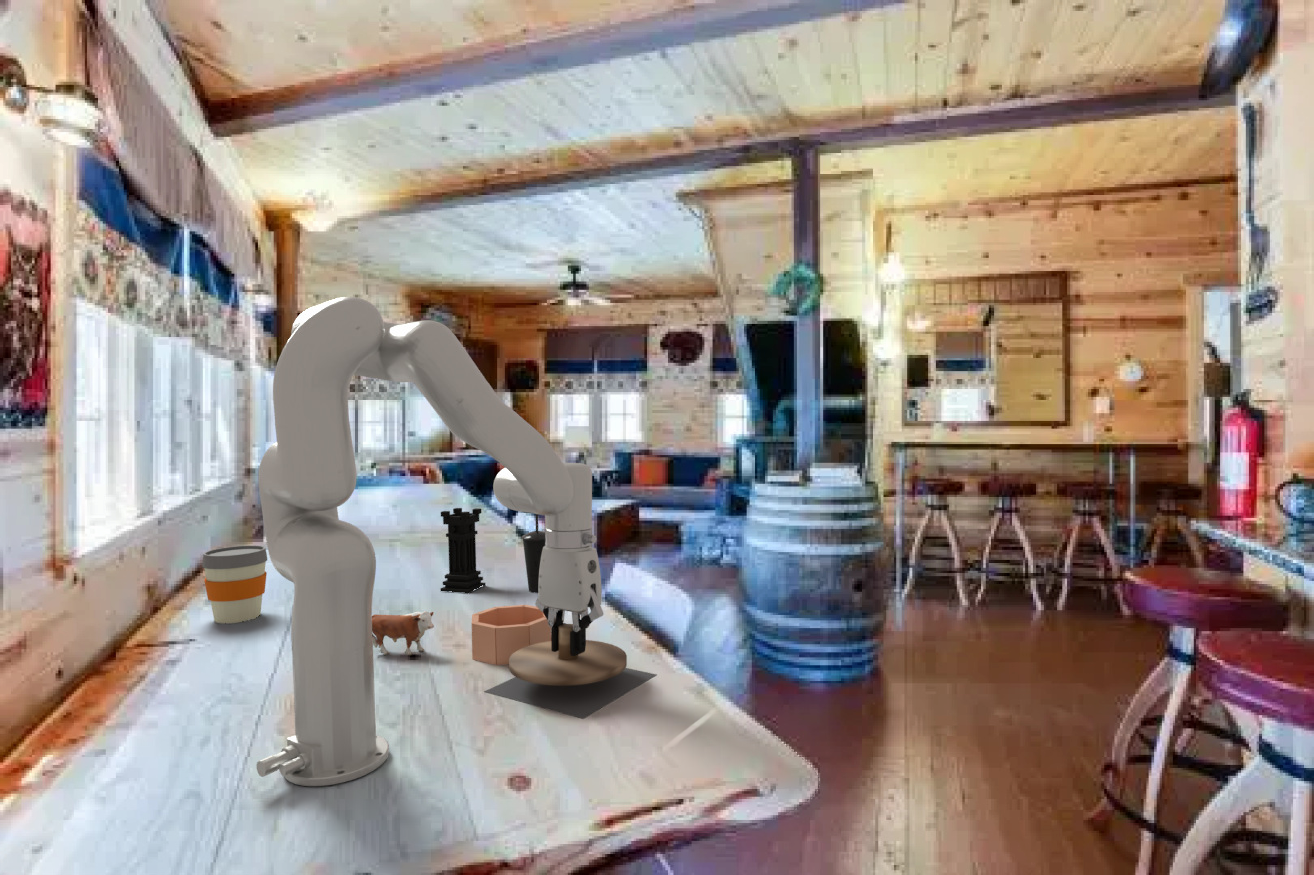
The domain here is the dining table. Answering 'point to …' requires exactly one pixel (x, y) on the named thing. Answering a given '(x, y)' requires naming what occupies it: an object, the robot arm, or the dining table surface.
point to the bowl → (507, 632)
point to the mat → (572, 693)
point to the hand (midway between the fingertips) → (568, 650)
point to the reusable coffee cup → (235, 582)
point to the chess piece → (462, 551)
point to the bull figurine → (401, 629)
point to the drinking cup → (533, 555)
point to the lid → (567, 662)
